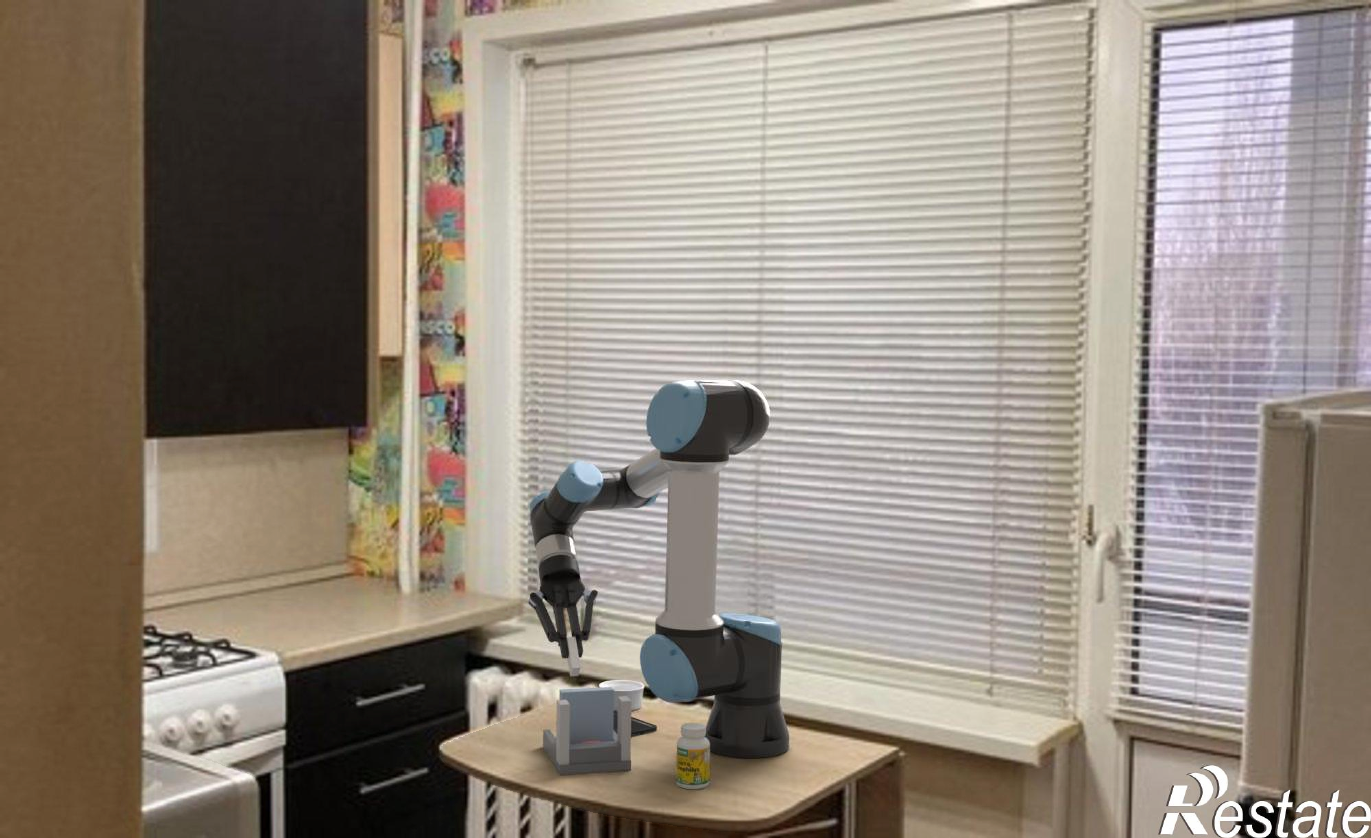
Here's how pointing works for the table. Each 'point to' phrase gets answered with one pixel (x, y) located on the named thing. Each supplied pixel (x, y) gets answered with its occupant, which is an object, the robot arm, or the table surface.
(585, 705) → the blue-grey rectangular panel
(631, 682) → the ramekin
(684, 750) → the supplement bottle
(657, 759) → the table surface
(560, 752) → the housing
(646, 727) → the phone
